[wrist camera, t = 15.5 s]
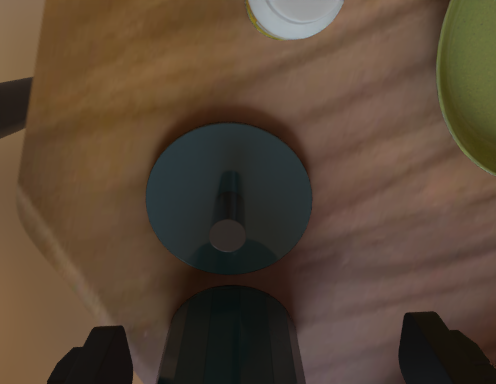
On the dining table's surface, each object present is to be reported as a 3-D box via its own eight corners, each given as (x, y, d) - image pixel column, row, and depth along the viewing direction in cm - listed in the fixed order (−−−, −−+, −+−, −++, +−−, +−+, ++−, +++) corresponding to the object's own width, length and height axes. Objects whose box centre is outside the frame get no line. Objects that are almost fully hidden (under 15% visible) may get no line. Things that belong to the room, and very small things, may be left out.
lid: (162, 272, 34) (146, 319, 28) (135, 126, 28) (108, 148, 23) (309, 261, 34) (324, 307, 28) (309, 113, 28) (327, 132, 23)
